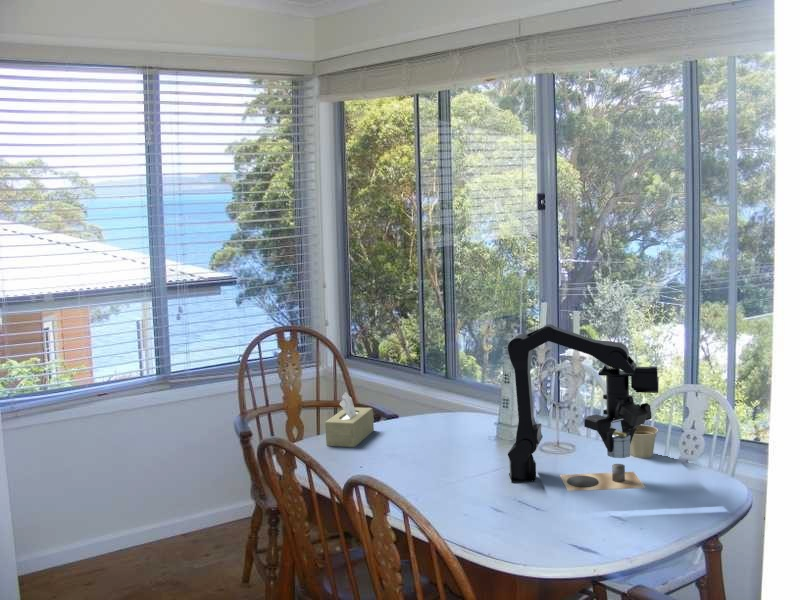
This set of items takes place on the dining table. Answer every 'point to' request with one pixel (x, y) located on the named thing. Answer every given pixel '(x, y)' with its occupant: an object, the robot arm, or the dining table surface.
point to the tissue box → (349, 424)
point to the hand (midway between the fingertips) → (618, 449)
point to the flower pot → (643, 441)
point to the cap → (620, 445)
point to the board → (603, 480)
